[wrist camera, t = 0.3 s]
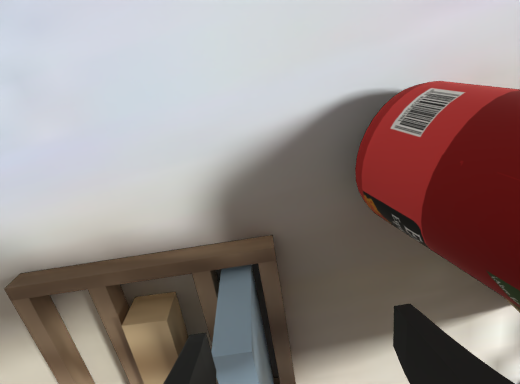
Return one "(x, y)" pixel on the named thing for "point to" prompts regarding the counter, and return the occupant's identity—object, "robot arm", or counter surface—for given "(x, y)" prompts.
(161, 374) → the offcut
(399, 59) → the counter surface
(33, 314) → the rack
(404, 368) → the robot arm
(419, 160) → the canned food
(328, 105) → the counter surface
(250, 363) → the panel
